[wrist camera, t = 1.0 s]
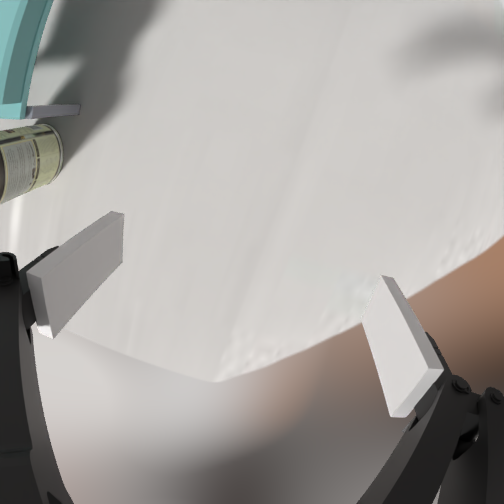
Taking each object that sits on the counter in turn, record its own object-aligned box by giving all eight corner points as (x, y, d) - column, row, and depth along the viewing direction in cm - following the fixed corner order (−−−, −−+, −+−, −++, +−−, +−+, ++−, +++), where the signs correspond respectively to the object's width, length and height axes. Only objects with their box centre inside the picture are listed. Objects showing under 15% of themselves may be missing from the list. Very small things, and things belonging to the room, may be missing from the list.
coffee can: (29, 191, 41) (-29, 218, 28) (18, 134, 37) (-44, 149, 24) (70, 177, 40) (7, 204, 27) (58, 114, 36) (-9, 122, 23)
